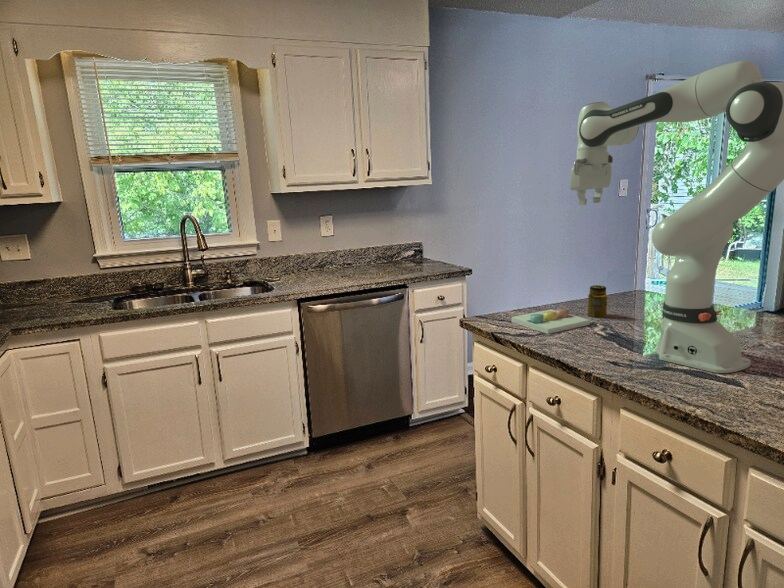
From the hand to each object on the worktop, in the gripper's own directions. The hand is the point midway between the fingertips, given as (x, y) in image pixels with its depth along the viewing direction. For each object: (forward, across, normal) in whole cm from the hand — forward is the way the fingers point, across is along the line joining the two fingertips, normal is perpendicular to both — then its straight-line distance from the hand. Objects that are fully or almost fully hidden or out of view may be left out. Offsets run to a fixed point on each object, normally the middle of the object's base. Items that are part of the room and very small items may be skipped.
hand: (589, 203), depth 162 cm
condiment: (+41, +10, +1) cm, 43 cm away
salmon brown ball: (+40, -1, +8) cm, 40 cm away
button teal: (+40, -11, +11) cm, 43 cm away
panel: (+41, -6, +10) cm, 43 cm away
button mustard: (+40, -6, +10) cm, 41 cm away
